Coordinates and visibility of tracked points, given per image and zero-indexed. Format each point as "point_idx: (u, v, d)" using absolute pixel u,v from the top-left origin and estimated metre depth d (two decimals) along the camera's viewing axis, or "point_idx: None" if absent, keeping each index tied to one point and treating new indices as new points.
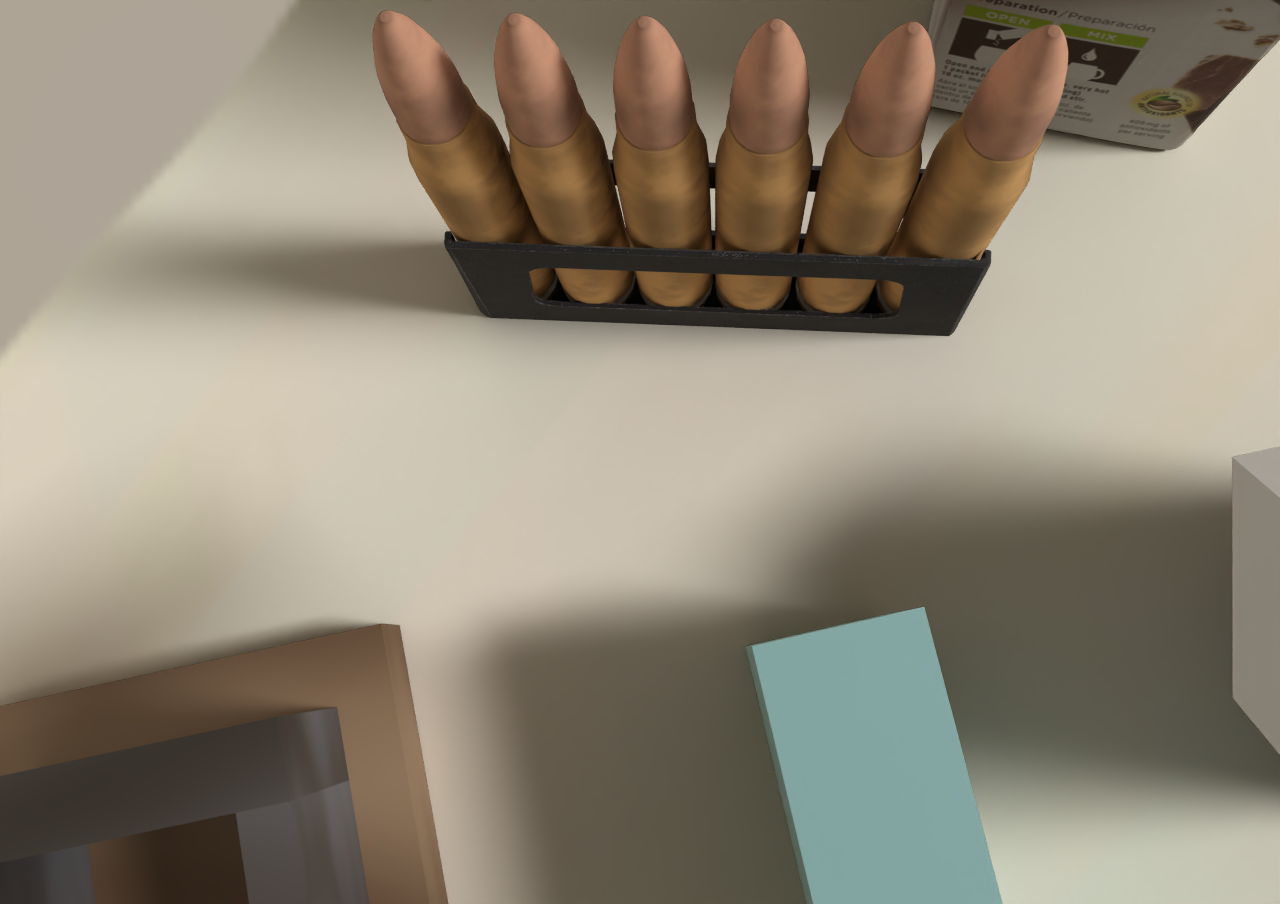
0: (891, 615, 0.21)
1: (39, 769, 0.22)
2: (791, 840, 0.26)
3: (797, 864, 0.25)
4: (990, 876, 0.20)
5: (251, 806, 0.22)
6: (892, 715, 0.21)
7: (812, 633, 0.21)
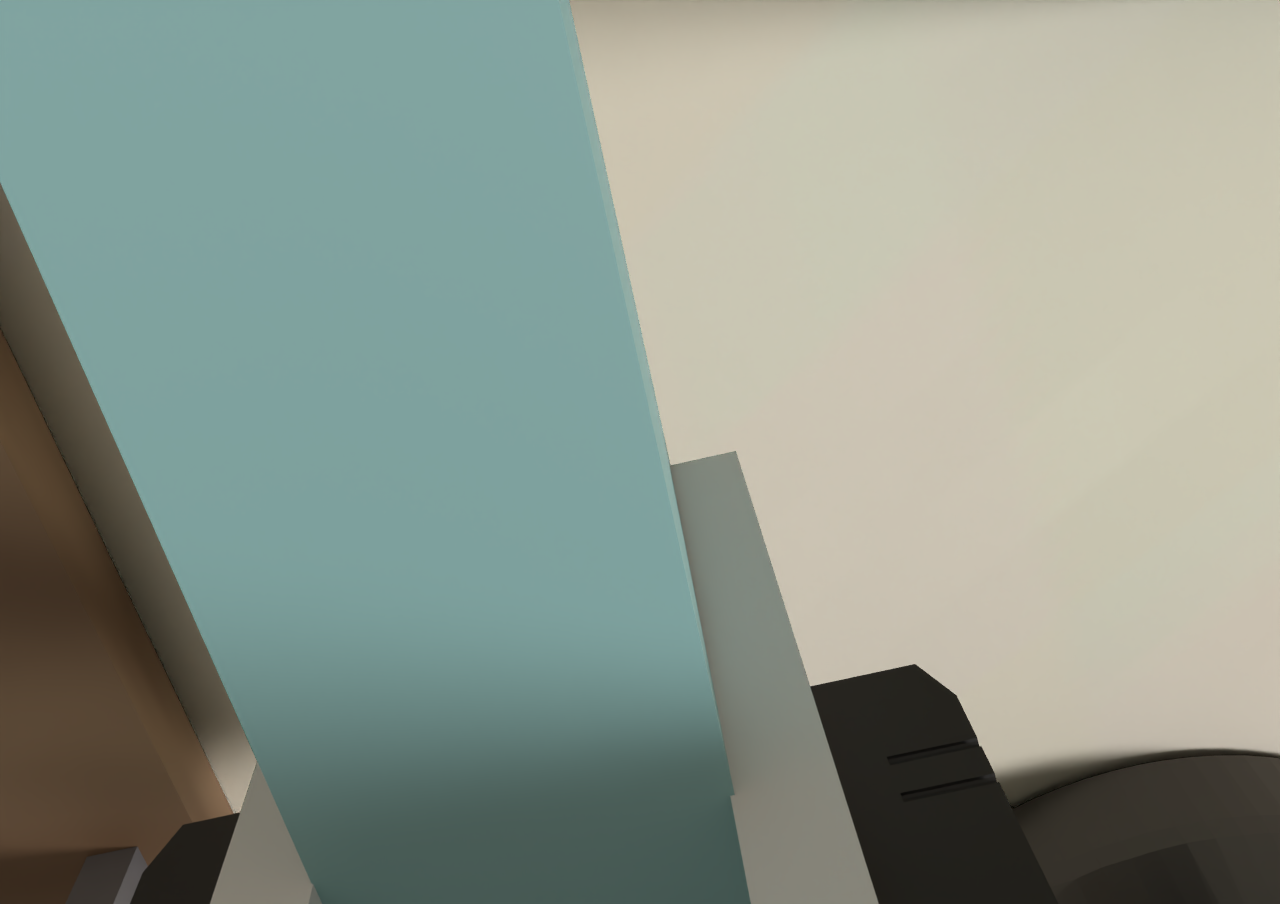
0: None
1: None
2: None
3: None
4: (618, 339, 0.07)
5: None
6: None
7: None
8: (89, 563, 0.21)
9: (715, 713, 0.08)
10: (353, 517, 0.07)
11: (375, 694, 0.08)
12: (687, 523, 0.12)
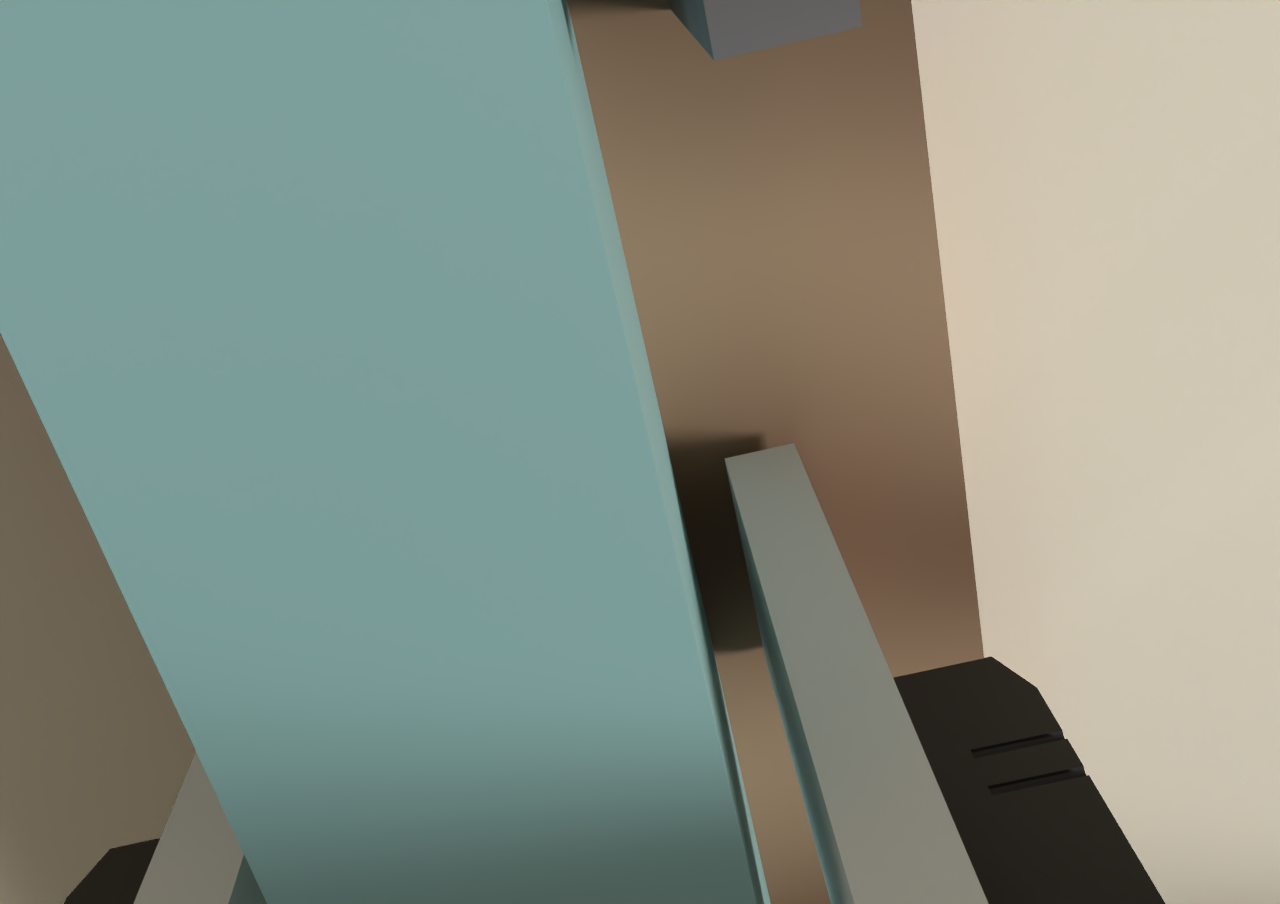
0: None
1: None
2: None
3: None
4: (612, 344, 0.06)
5: None
6: None
7: None
8: None
9: (720, 753, 0.07)
10: (323, 542, 0.07)
11: (350, 731, 0.07)
12: (752, 515, 0.12)
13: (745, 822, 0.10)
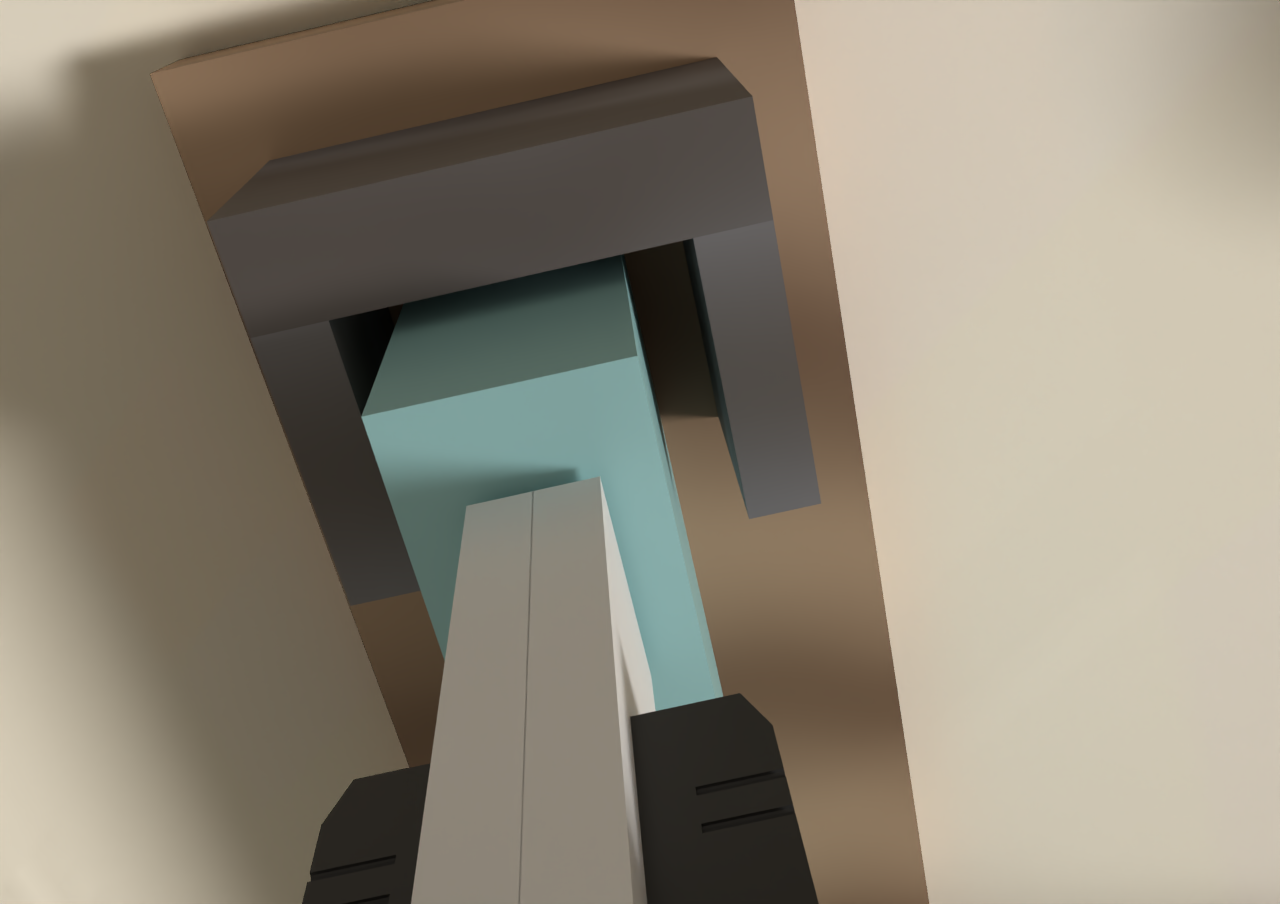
0: (584, 369, 0.13)
1: (384, 183, 0.14)
2: None
3: None
4: (708, 696, 0.15)
5: (716, 228, 0.15)
6: None
7: (457, 398, 0.13)
8: None
9: None
10: None
11: None
12: (540, 549, 0.12)
13: None
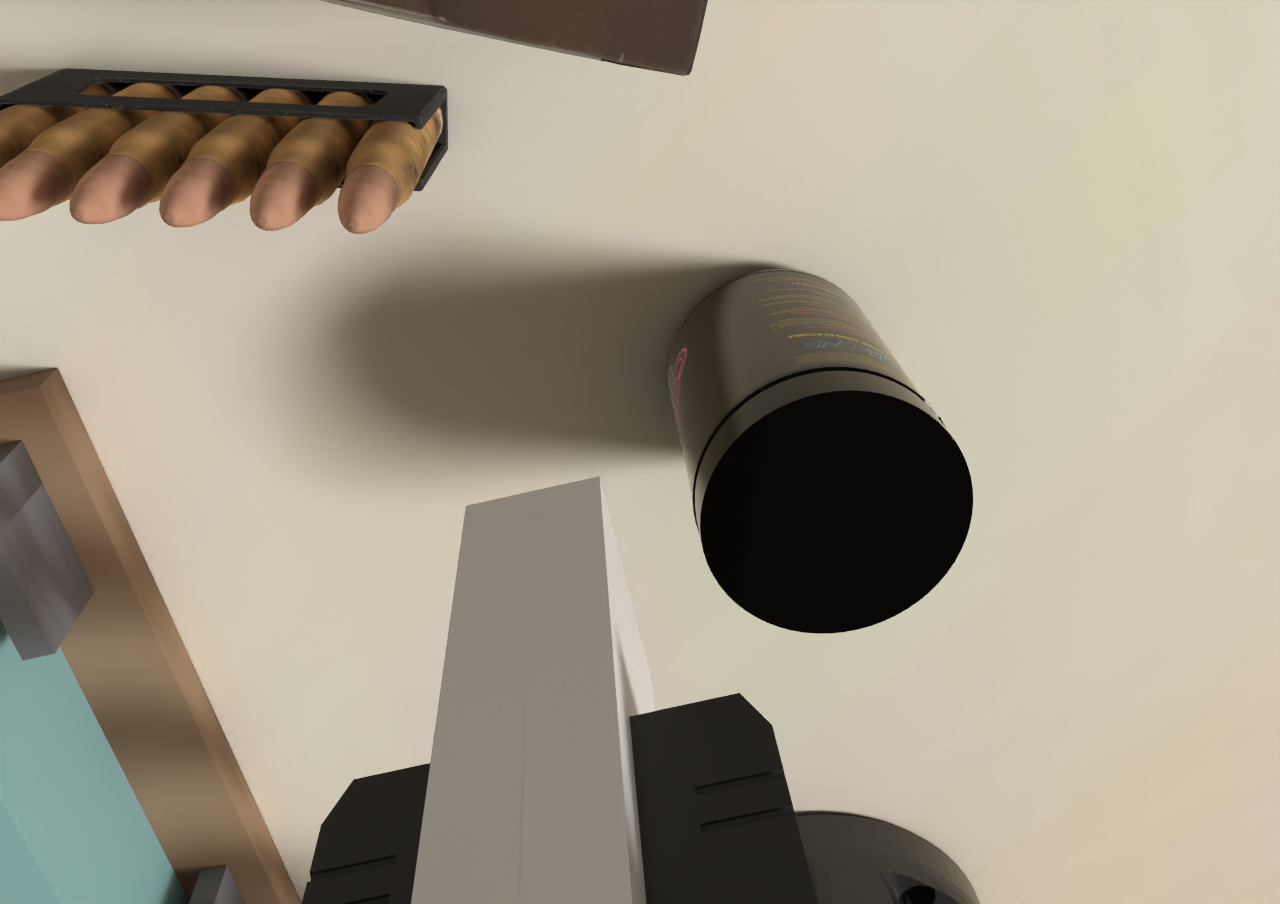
0: None
1: None
2: None
3: None
4: None
5: None
6: None
7: None
8: (207, 721, 0.43)
9: (11, 816, 0.36)
10: None
11: None
12: (539, 550, 0.12)
13: (72, 830, 0.39)
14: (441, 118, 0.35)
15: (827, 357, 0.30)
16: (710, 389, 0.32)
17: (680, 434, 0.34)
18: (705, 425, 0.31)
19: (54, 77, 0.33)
